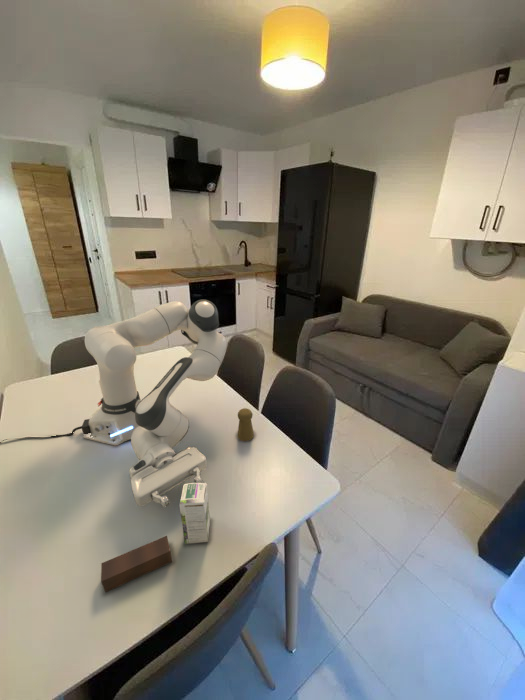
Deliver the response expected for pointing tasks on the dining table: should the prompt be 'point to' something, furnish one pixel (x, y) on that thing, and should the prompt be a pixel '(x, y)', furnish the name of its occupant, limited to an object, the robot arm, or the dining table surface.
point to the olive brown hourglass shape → (245, 425)
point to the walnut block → (135, 563)
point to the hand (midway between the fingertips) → (183, 493)
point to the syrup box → (195, 512)
